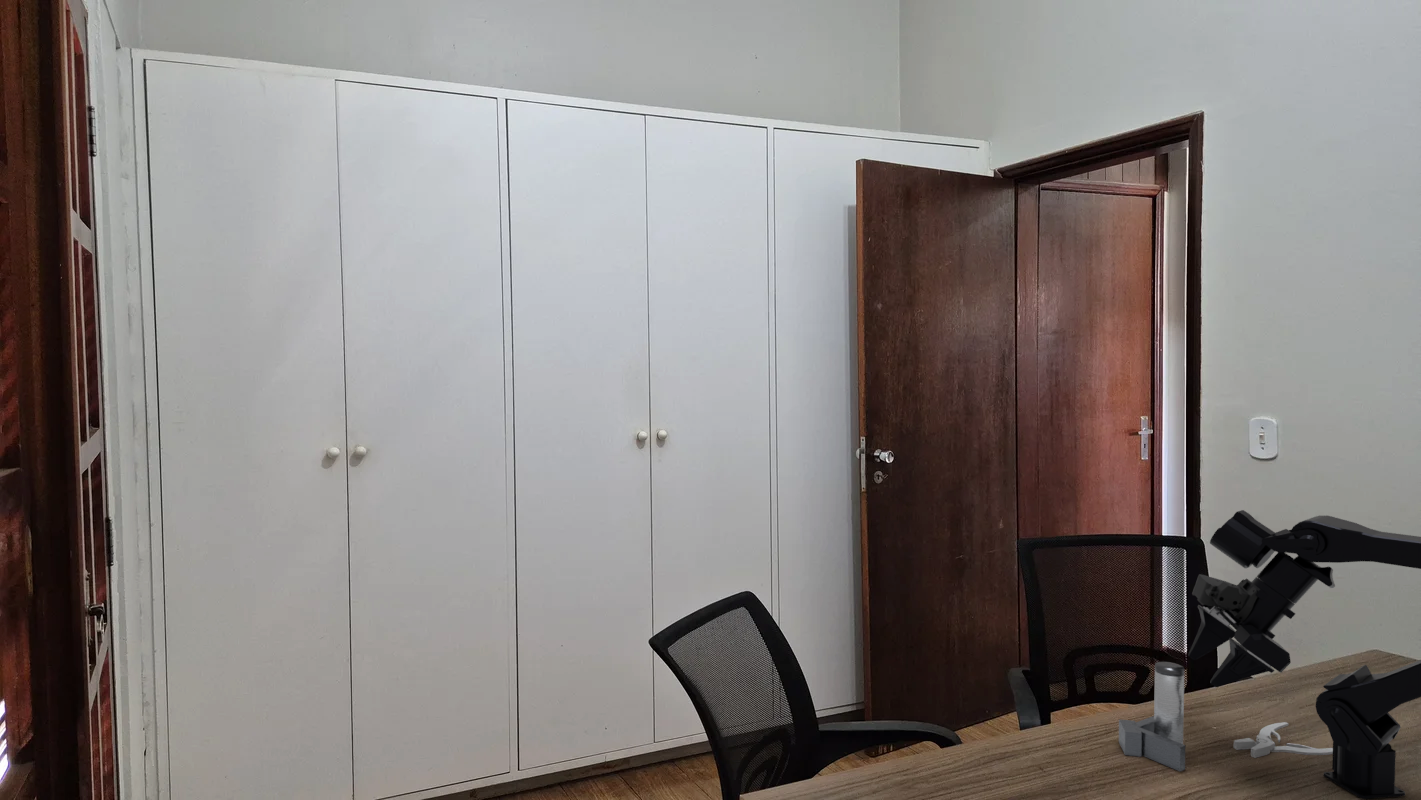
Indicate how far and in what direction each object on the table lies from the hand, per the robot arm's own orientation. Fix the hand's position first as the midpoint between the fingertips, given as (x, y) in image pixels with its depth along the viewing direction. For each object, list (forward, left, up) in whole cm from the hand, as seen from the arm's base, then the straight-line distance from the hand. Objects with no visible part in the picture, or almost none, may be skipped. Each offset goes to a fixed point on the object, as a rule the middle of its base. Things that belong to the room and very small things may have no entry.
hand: (1201, 670), depth 125 cm
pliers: (+1, -13, -13) cm, 18 cm away
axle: (0, +5, -12) cm, 13 cm away
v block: (+1, +7, -12) cm, 14 cm away
